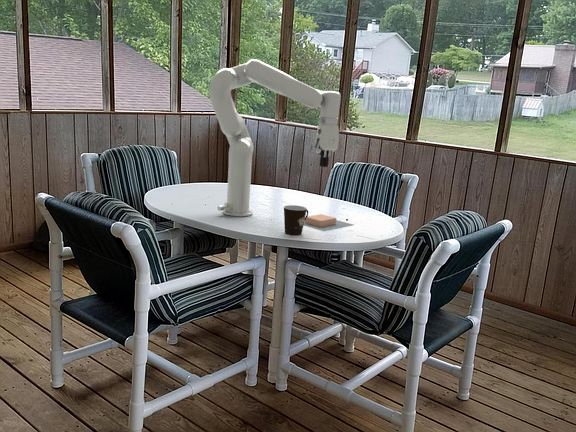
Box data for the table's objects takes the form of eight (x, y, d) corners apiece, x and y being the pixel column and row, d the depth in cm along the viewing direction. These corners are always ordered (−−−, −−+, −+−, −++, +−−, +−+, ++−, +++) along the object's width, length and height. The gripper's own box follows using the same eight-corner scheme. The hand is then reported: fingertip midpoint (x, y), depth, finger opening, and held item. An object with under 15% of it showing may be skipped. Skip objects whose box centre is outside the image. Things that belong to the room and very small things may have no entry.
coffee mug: (287, 236, 205) (289, 210, 203) (278, 230, 213) (280, 205, 211) (315, 235, 210) (317, 209, 208) (305, 229, 218) (307, 204, 215)
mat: (323, 232, 215) (323, 231, 215) (289, 222, 227) (289, 221, 227) (354, 226, 230) (354, 224, 230) (321, 217, 242) (321, 215, 242)
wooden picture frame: (335, 224, 228) (320, 227, 221) (320, 220, 234) (305, 222, 226) (336, 218, 228) (320, 221, 221) (321, 214, 233) (305, 216, 226)
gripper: (323, 122, 221) (318, 168, 225) (347, 123, 231) (342, 167, 235) (309, 120, 226) (304, 165, 230) (333, 121, 236) (328, 164, 240)
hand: (323, 166), depth 232 cm, fingers closed
